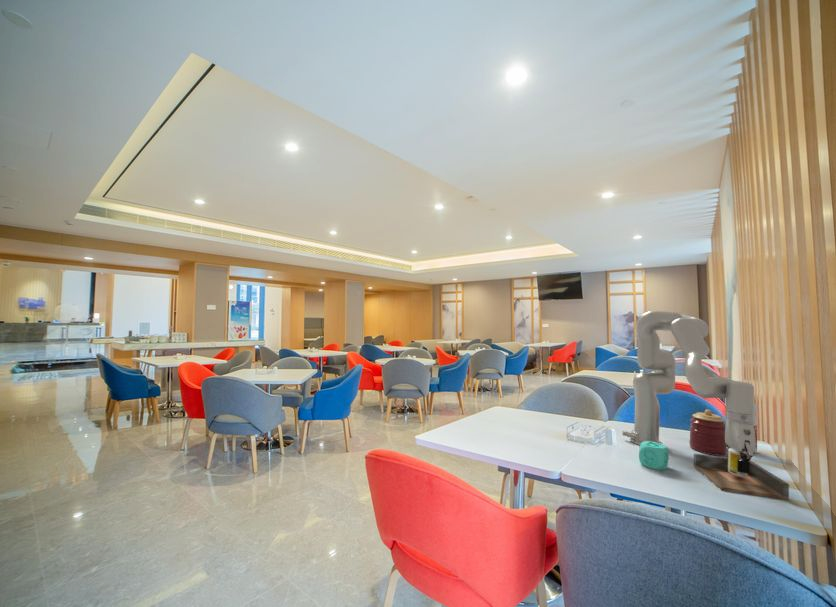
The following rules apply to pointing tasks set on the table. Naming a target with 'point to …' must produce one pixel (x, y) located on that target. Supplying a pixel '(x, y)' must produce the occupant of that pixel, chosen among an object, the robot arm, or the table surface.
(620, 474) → the table surface
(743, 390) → the robot arm
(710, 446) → the canister
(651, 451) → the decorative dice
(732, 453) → the supplement bottle
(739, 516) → the table surface
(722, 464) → the wooden tray
